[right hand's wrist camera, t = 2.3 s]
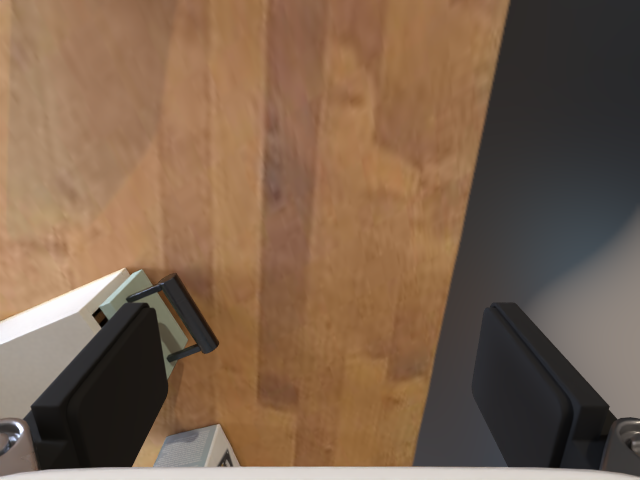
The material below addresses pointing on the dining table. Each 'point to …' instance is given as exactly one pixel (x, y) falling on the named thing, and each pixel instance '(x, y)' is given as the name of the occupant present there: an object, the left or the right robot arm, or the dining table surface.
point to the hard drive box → (197, 449)
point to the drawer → (163, 315)
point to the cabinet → (47, 342)
